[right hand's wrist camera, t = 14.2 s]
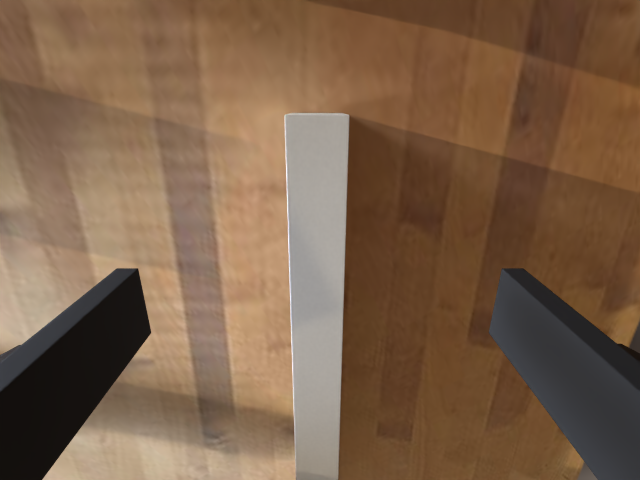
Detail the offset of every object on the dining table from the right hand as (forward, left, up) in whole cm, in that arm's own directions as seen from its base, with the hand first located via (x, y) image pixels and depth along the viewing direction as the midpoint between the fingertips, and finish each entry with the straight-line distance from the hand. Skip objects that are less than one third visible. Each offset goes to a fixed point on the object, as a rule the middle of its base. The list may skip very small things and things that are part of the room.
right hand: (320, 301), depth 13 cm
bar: (+6, -19, -25) cm, 32 cm away
